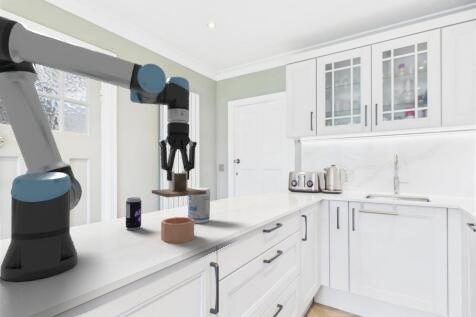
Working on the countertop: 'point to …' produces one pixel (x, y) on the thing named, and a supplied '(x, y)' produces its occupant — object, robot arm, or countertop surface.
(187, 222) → the terracotta bowl
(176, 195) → the walnut lid
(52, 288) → the countertop surface
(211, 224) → the countertop surface
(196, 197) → the supplement tub
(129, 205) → the beverage can
